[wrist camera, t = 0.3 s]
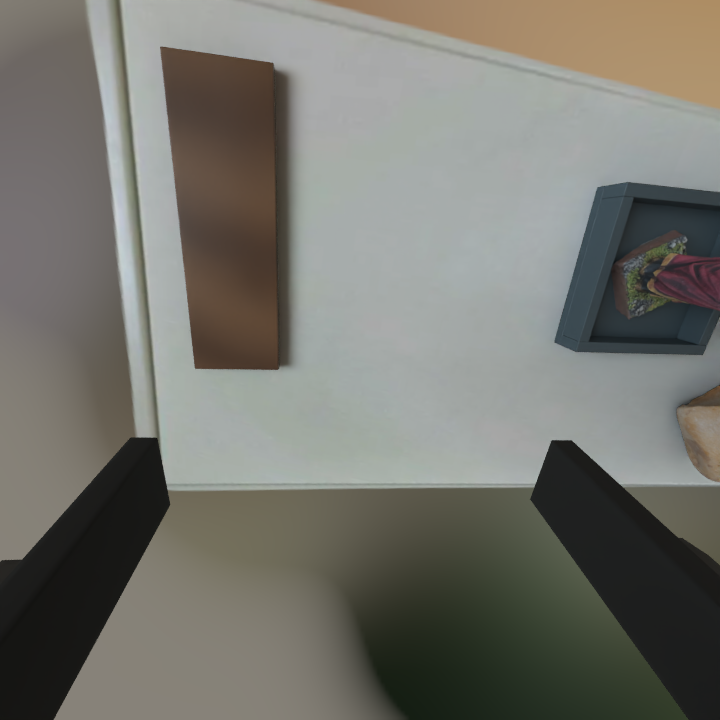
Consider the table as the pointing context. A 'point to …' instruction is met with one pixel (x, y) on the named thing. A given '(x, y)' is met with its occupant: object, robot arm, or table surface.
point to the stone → (703, 432)
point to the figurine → (664, 277)
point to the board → (226, 204)
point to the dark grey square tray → (618, 238)
